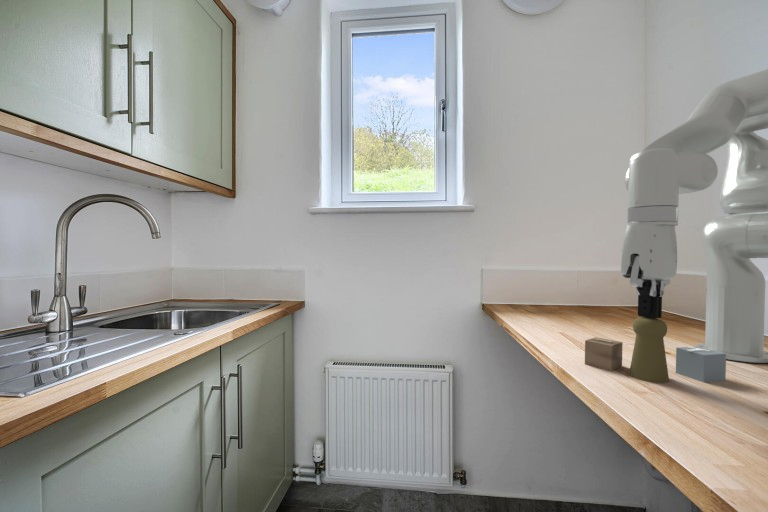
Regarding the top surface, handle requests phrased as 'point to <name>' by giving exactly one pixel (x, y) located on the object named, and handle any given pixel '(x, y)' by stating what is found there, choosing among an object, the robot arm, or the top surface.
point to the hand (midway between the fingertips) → (649, 316)
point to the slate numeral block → (701, 364)
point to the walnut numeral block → (603, 353)
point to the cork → (649, 351)
